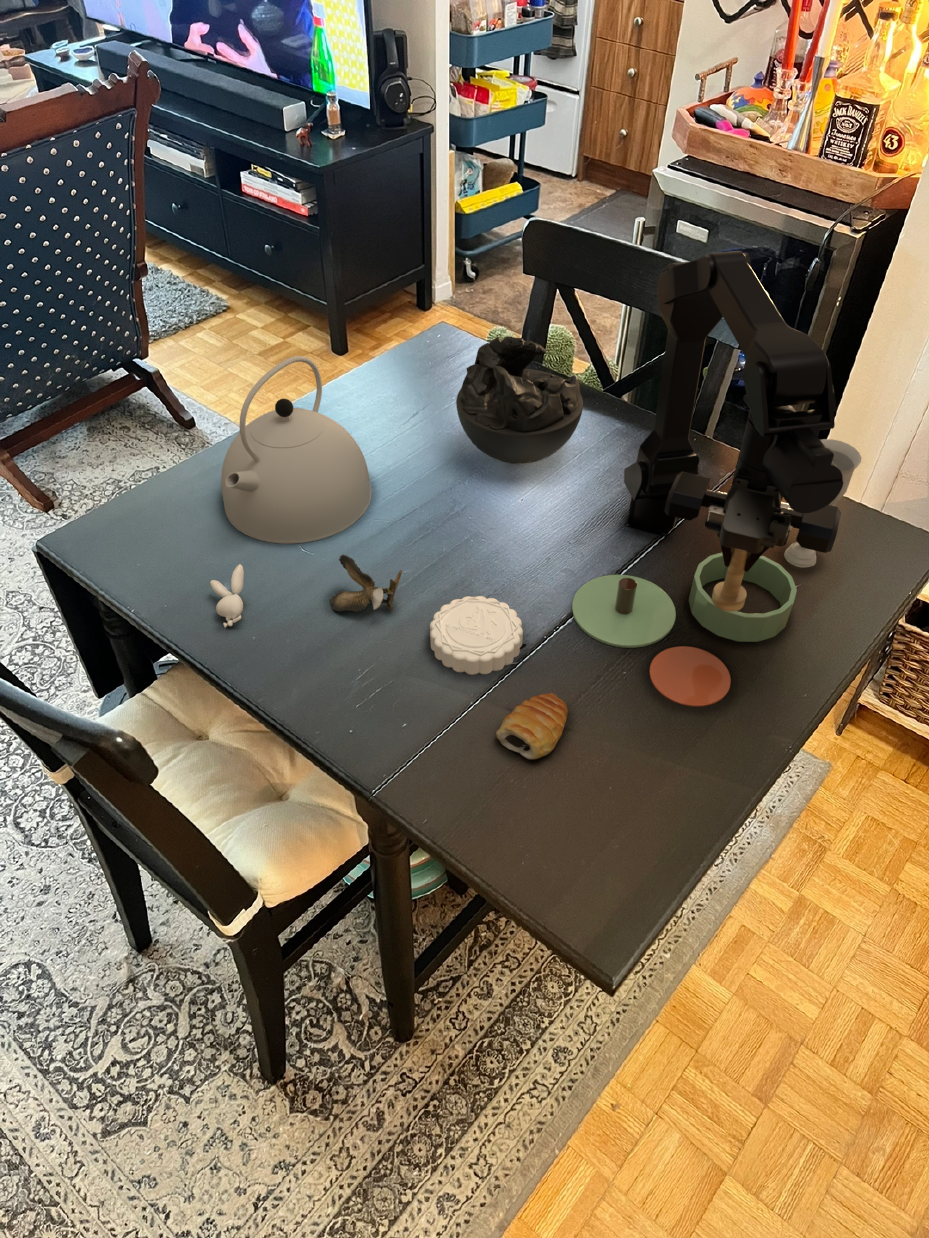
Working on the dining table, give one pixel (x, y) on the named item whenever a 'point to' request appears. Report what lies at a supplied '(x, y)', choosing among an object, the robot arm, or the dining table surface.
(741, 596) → the pestle
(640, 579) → the pot lid
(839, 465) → the chalice
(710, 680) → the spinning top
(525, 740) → the pastry
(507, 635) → the mooncake
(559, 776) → the dining table surface
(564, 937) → the dining table surface
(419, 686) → the dining table surface
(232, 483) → the kettle
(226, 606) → the rabbit figurine
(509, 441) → the bowl of black rocks
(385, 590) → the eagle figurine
